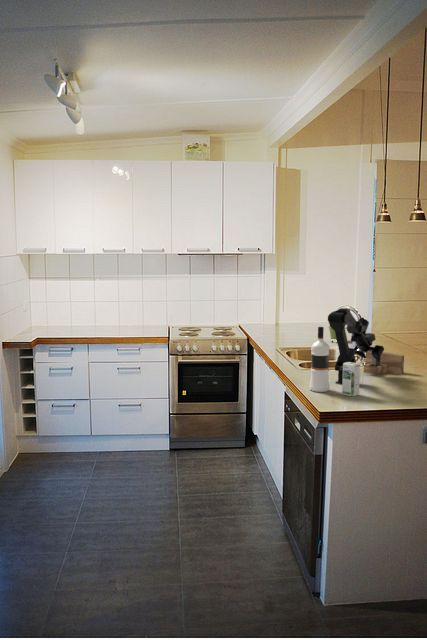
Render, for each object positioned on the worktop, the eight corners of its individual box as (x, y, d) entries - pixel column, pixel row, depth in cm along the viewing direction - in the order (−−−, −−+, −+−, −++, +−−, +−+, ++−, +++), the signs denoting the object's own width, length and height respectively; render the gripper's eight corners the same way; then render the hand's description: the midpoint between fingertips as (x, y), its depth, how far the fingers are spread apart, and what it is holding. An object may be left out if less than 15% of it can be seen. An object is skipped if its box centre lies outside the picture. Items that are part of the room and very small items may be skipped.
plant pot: (327, 343, 384) (327, 327, 382) (328, 340, 395) (329, 325, 393) (344, 343, 380) (344, 328, 379) (345, 341, 391) (345, 325, 390)
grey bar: (375, 373, 288) (376, 349, 286) (371, 372, 290) (372, 348, 288) (379, 372, 290) (380, 348, 289) (376, 371, 292) (376, 347, 291)
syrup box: (341, 394, 245) (342, 363, 243) (348, 392, 249) (349, 361, 247) (352, 396, 241) (353, 365, 239) (359, 394, 245) (360, 363, 243)
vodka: (307, 387, 257) (308, 325, 253) (326, 387, 258) (328, 325, 254) (311, 392, 248) (313, 328, 244) (331, 392, 248) (333, 328, 245)
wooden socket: (388, 377, 279) (388, 358, 277) (353, 370, 296) (353, 352, 294) (403, 373, 287) (404, 355, 286) (368, 366, 304) (369, 349, 303)
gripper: (383, 330, 274) (394, 349, 283) (352, 326, 289) (364, 345, 297) (373, 347, 270) (385, 366, 279) (343, 342, 285) (355, 360, 293)
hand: (372, 358), depth 287 cm, fingers open, 9 cm apart
